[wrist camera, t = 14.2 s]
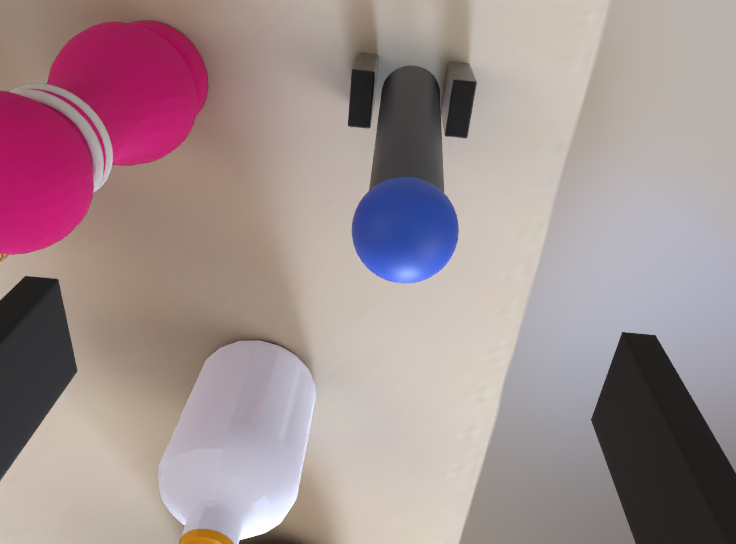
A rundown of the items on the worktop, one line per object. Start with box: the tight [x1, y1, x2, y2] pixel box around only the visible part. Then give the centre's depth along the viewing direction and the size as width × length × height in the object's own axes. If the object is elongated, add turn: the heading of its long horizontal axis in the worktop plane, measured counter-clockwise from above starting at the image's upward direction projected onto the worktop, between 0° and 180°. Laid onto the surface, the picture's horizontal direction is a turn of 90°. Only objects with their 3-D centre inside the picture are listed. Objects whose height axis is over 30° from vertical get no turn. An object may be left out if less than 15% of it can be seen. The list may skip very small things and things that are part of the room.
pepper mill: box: [0, 21, 208, 255], centre depth 28 cm, size 7×7×20 cm
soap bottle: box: [158, 340, 316, 544], centre depth 38 cm, size 9×9×25 cm
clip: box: [348, 53, 477, 138], centre depth 34 cm, size 3×6×4 cm, turn 85°
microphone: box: [352, 66, 458, 283], centre depth 29 cm, size 15×4×4 cm
